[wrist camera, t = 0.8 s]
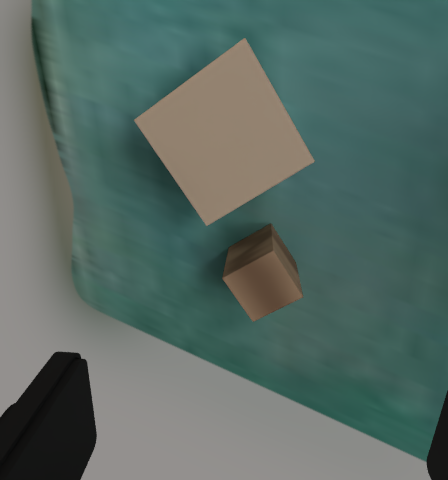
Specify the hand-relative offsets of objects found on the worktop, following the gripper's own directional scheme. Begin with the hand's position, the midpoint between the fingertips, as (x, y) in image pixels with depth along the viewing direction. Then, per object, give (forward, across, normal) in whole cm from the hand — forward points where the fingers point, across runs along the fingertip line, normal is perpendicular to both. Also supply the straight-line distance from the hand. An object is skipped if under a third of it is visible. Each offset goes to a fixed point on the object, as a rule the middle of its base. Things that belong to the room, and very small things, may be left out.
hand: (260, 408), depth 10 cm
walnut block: (+28, -1, +7) cm, 29 cm away
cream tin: (+28, +2, -5) cm, 28 cm away
